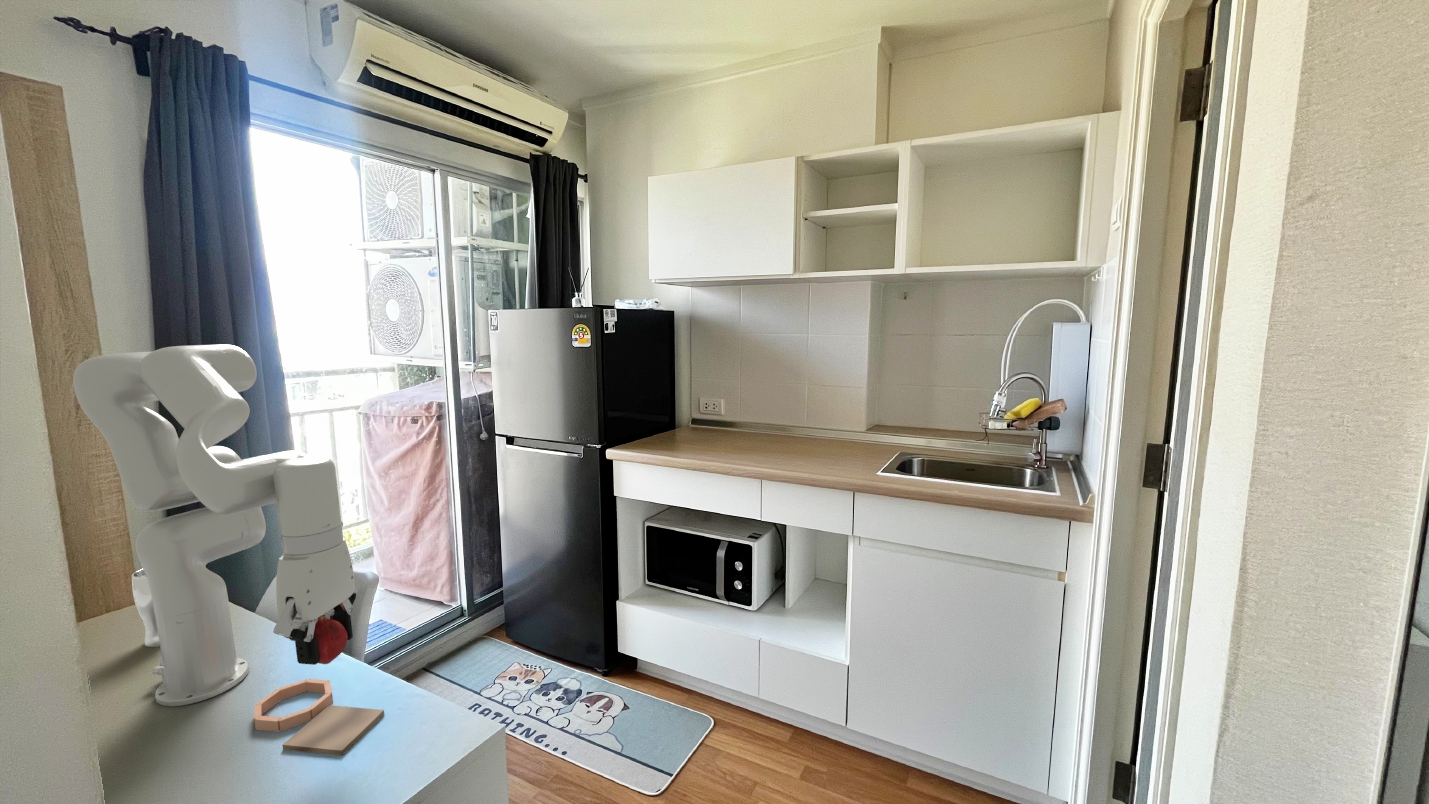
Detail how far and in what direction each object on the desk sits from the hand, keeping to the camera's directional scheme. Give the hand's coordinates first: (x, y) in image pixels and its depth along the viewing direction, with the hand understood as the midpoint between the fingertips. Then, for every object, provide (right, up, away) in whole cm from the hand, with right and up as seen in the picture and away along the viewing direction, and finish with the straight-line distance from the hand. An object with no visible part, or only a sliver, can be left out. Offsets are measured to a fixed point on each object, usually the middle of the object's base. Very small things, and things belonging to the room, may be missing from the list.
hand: (326, 649), depth 89 cm
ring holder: (-10, -13, +7) cm, 18 cm away
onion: (0, -3, 0) cm, 3 cm away
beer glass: (-53, -11, +29) cm, 61 cm away
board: (0, -14, +2) cm, 14 cm away
